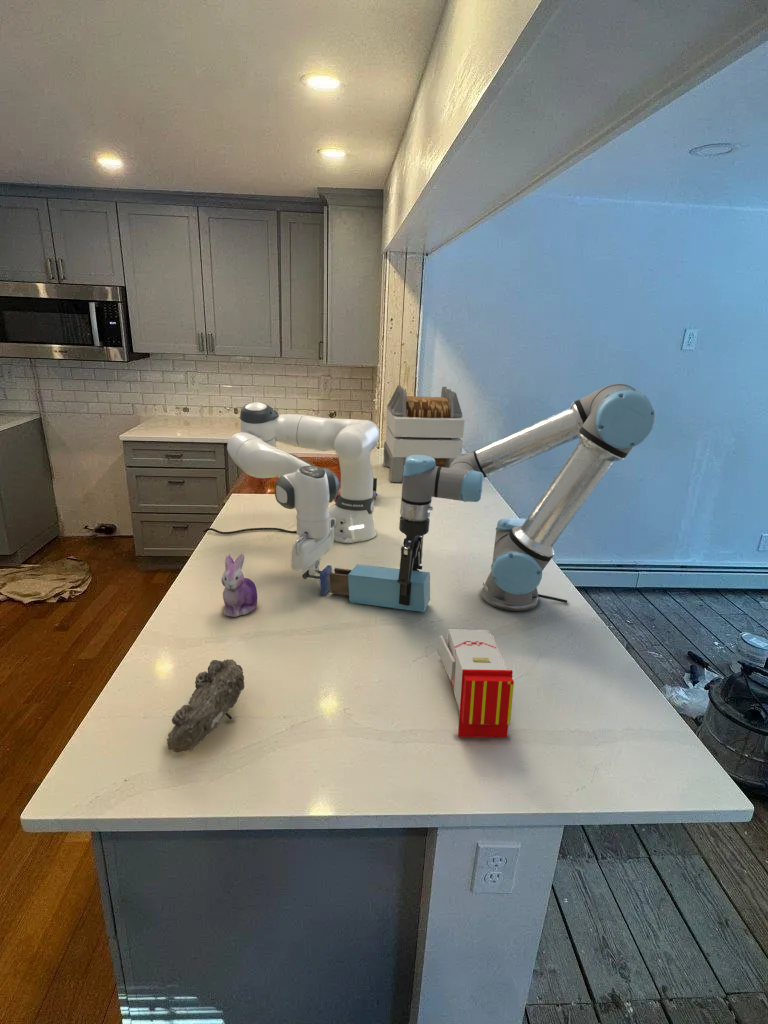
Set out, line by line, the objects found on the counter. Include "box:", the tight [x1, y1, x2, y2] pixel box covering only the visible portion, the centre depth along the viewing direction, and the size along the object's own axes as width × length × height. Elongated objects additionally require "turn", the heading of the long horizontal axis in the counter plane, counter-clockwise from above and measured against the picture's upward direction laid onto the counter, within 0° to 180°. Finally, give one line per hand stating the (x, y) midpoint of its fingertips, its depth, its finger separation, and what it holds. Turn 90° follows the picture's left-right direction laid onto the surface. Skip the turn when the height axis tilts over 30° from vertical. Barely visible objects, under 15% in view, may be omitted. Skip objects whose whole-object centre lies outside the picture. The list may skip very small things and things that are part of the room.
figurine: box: [220, 553, 258, 618], centre depth 144 cm, size 9×10×15 cm
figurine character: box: [373, 477, 378, 500], centre depth 233 cm, size 7×8×15 cm
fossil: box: [166, 658, 245, 754], centre depth 106 cm, size 22×10×15 cm
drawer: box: [301, 564, 353, 596], centre depth 155 cm, size 25×6×6 cm, turn 72°
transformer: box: [383, 384, 465, 483], centre depth 268 cm, size 34×33×41 cm
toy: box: [437, 628, 515, 738], centre depth 117 cm, size 12×13×30 cm
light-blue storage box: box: [348, 564, 431, 613], centre depth 151 cm, size 21×7×8 cm, turn 72°
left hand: (313, 573), depth 157 cm, fingers closed
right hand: (408, 597), depth 150 cm, fingers closed on light-blue storage box, 7 cm apart
